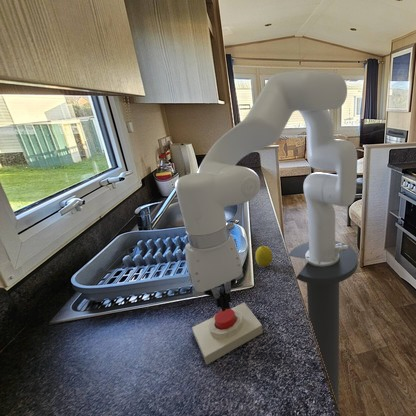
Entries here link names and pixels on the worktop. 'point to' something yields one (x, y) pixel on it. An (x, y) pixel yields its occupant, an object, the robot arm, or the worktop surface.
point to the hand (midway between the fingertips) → (224, 306)
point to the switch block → (226, 334)
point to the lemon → (263, 256)
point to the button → (225, 319)
